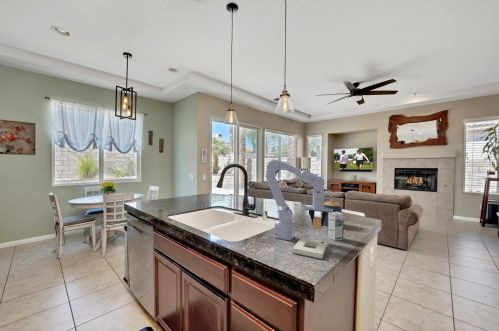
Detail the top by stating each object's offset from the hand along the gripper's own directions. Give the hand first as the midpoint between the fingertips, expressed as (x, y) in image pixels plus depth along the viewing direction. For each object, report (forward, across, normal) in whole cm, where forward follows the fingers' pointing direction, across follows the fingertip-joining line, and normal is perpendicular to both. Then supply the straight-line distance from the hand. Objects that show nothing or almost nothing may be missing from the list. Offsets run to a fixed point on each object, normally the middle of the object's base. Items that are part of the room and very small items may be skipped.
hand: (317, 225), depth 113 cm
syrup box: (+9, -8, -10) cm, 16 cm away
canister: (+9, -3, -38) cm, 39 cm away
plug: (+2, 0, 0) cm, 2 cm away
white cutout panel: (+9, +1, +13) cm, 16 cm away
